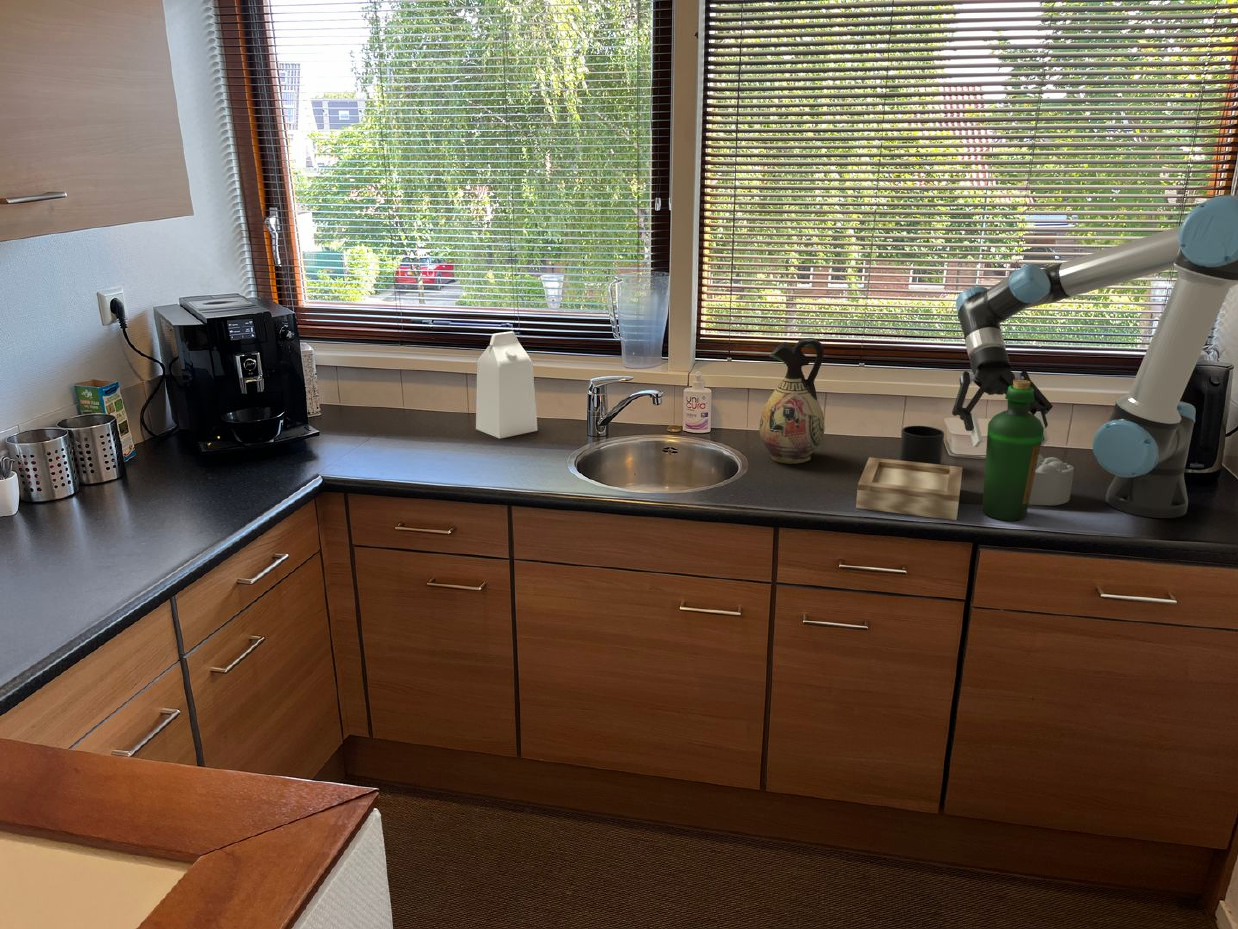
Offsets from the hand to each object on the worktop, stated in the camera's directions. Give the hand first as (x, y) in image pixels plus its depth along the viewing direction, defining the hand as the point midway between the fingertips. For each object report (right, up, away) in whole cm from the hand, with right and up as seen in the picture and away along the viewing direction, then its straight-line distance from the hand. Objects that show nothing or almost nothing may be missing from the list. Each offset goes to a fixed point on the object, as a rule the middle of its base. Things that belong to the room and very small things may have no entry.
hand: (1011, 443), depth 194 cm
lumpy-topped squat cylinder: (+12, -11, +15) cm, 22 cm away
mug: (-8, -5, +35) cm, 36 cm away
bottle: (0, -15, +5) cm, 15 cm away
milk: (-109, +5, +64) cm, 126 cm away
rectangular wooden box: (-16, -11, +14) cm, 24 cm away
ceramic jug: (-37, -3, +40) cm, 54 cm away
